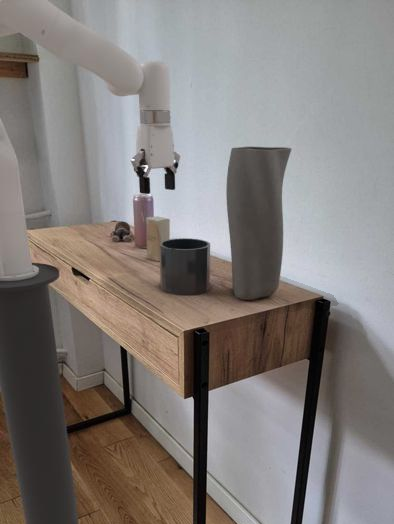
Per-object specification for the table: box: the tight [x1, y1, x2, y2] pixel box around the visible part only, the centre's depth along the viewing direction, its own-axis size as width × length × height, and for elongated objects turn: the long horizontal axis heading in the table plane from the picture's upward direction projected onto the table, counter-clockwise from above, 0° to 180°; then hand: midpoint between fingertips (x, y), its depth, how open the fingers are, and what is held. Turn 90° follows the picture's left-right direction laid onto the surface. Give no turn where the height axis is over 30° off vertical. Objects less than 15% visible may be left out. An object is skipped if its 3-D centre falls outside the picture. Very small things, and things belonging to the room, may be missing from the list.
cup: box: [159, 237, 211, 296], centre depth 109 cm, size 11×11×10 cm
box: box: [146, 216, 171, 262], centre depth 132 cm, size 5×4×11 cm
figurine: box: [108, 221, 135, 243], centre depth 156 cm, size 8×5×10 cm
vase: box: [225, 146, 292, 301], centre depth 100 cm, size 12×12×30 cm
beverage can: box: [132, 193, 155, 249], centre depth 144 cm, size 6×6×15 cm
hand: (157, 191), depth 127 cm, fingers open, 9 cm apart
